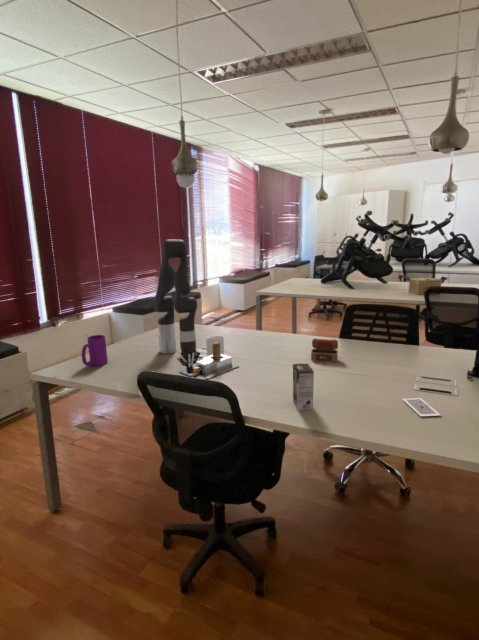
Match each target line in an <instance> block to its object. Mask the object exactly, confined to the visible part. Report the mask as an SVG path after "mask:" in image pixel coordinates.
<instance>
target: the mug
mask: <svg viewBox="0 0 479 640" xmlns="http://www.w3.org/2000/svg"><path fill="white" fill-rule="evenodd" d="M87 348H88V354H89V361H87V357H86V350H87ZM81 361H82V364H83V365H85V366H89V367H90V366H93V367H94V366H95V367H98V366H99V367H100V366H104V365H107V363H108V351H107V344H106V336H105V335H103V334H97V335H96V334H95V335H90V336H89V337H87V343H85V344H84V345H83V346H82V348H81Z"/></svg>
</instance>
